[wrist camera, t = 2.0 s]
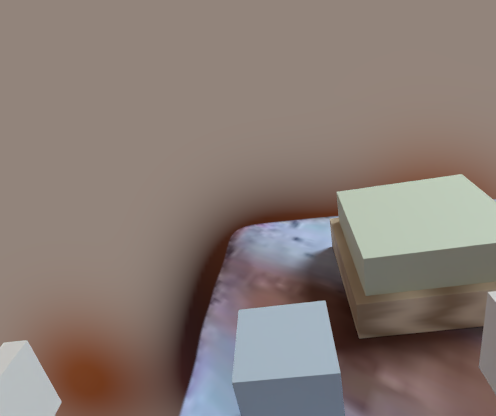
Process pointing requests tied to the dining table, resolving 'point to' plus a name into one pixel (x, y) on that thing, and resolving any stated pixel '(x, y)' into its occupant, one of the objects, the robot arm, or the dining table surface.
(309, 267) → the dining table surface
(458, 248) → the top brick
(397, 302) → the base brick
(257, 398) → the tall brick
